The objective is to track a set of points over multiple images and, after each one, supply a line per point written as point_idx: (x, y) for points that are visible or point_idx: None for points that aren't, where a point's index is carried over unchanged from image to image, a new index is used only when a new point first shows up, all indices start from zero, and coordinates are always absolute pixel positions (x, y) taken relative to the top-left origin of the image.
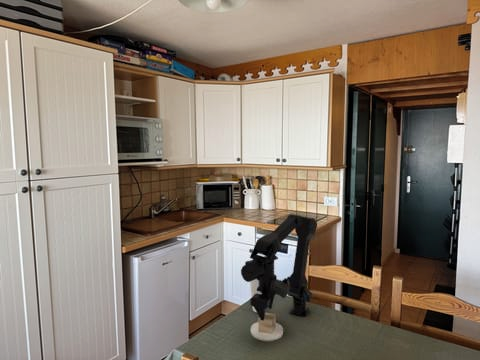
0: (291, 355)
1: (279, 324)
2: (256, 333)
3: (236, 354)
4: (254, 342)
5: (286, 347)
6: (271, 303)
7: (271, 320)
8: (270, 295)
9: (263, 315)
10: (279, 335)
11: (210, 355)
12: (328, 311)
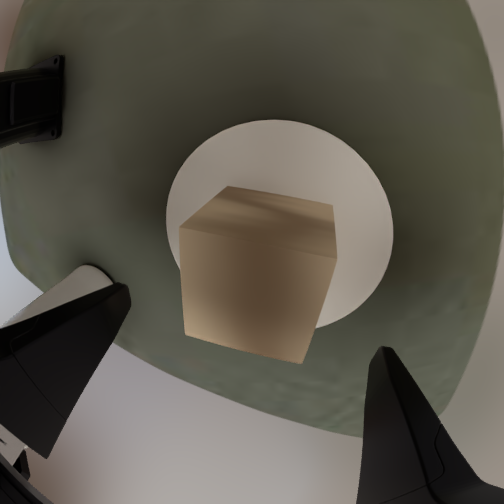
0: (493, 76)
1: (185, 162)
2: (336, 300)
3: (471, 343)
4: (399, 292)
5: (434, 93)
6: (91, 318)
7: (321, 259)
8: (36, 386)
9: (420, 403)
10: (339, 142)
11: (450, 399)
12: (32, 3)
